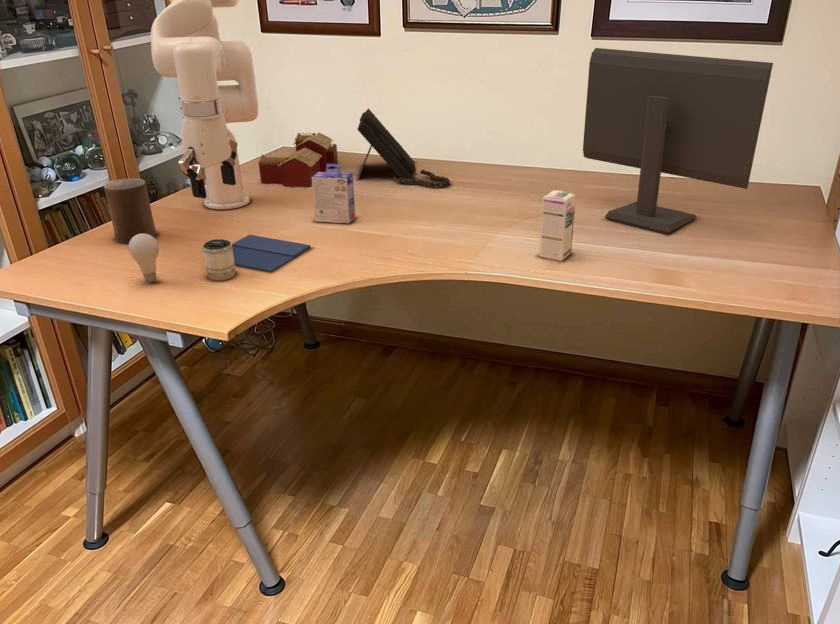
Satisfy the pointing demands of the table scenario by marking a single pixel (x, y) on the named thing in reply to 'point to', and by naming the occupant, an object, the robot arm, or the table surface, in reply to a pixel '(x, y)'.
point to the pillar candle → (129, 208)
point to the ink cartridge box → (333, 196)
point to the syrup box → (557, 225)
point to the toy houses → (299, 161)
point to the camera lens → (219, 259)
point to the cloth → (265, 252)
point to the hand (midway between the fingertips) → (215, 190)
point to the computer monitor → (673, 123)
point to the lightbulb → (145, 254)
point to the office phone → (393, 152)
